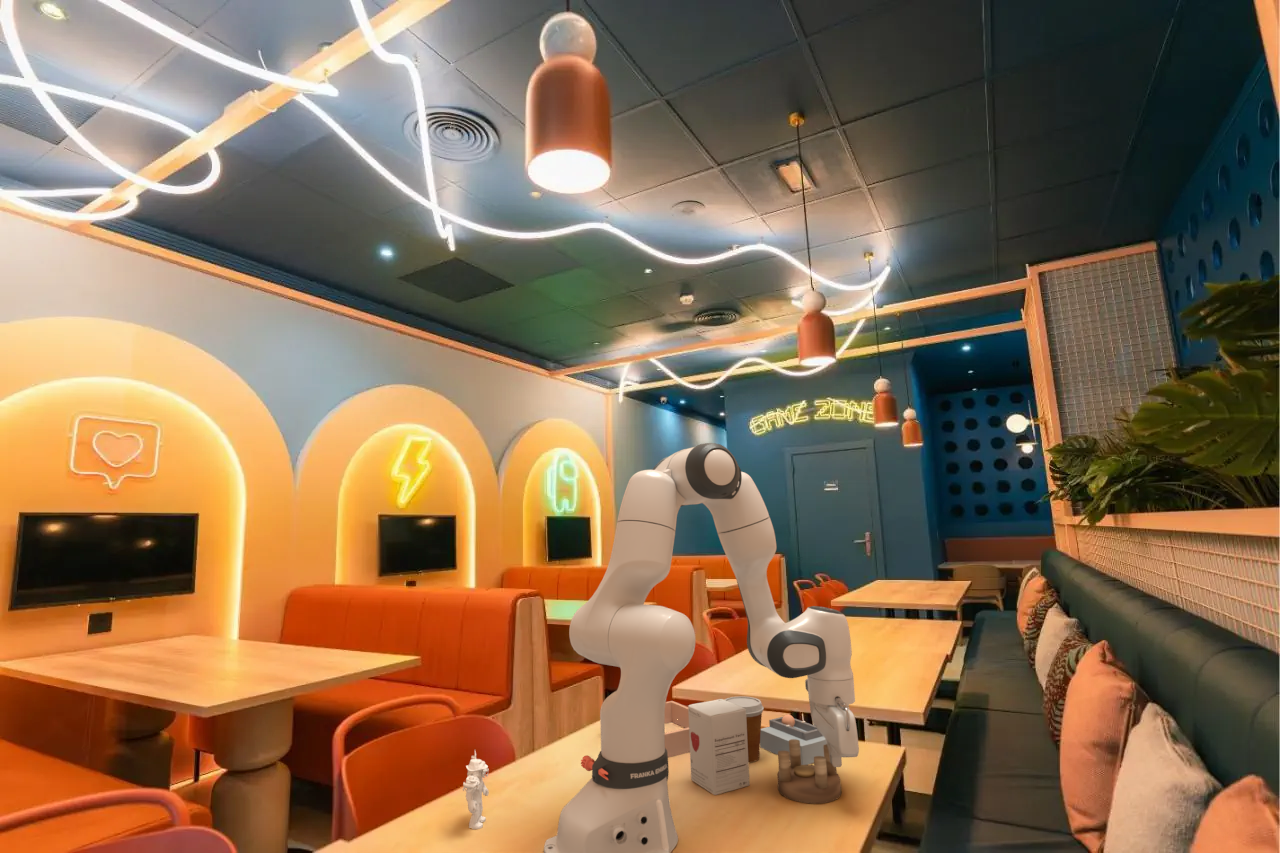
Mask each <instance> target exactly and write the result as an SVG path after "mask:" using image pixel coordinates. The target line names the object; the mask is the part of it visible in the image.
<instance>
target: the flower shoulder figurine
mask: <svg viewBox="0 0 1280 853" xmlns="http://www.w3.org/2000/svg"><path fill="white" fill-rule="evenodd" d="M465 767H466V769H467V773H466V775H467V777H466V779H465V781H463V784H462V786H463V787H462V791H463V792H466V793H465V798H466V799H465V800H466V802H467V808H468V811H469V813H471V817H470V820H469V823H468V829H469V828H472V829H471V830H480V829H482V828H483V826H484V824H483V823H484V822H486V820H487V819H486V816H482V815H483V808H484V807H483V796H484V797H488V796H489V788H487V786H486V785H485V782H484V779H485V778H486V777H487V778H488V776H489V773H488V772H489V771H490V770H489V768H488V767H489V766H488V765H487V764H486V762H485V760H482V759H480V758H477V752H476V750H474V755H471V759H470V761H469V764H468V765H465ZM486 773H487V774H486Z"/></svg>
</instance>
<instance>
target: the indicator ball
mask: <svg viewBox="0 0 1280 853" xmlns="http://www.w3.org/2000/svg"><path fill="white" fill-rule="evenodd" d="M782 717H783V718H782V723H783V724H786V725H790V726H791V727H793V726H794V724H795V720H794V717H793V716H792V715H791V714H785V715H782Z"/></svg>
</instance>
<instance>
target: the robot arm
mask: <svg viewBox="0 0 1280 853" xmlns="http://www.w3.org/2000/svg"><path fill="white" fill-rule="evenodd" d="M741 470H742V469H741V467H740V466H739V463H738V461H737V459H736V458H735V456H734V454H732V452H731V451H730V450H729V449H728V448H727V447H725V446H724V445H722V444H721V443H720V444H719V443H715V442H706V443H705V442H704V443H701V444H697V445H695V446H693V447H688V448H684V449H681V450H678V451H676V452H674V453H672V454H671V455H669V456H665V457H664V458H662V459H661V460H659V461H658V462H657V463H656V464H655V466H654V467H653V468H652V469H644V470H643V469H642V470H640V471H637V472H636V473H634V474H633V475H632V476H631V477H630V478H629V480H628V483H627V485H626V489H625V491H624V494H623V497H622V500H621V504H620V508H619V512H618V515H617V521H616V527H615V532H614V537H613V538H614V540H613V544H612V549H611V553H610V559H609V561H608V564H607V565H608V566H607V568H606V571H605V573H604V575H603V578H602V580H601V581H600V583H599V585H598V586H597V588H596V590H595V591H594V592H593V595H592V596H591V597H590V598H589V599H588V601H586V602H585V603H583V605H581V606H580V607H579V608H578V609H577V610H576V611H575V613H574V614H573V616H572V617H571V620H570V624H569V630H568V631H569V632H568V633H569V634H568V635H569V642H570V645H571V647H572V649H573V651H575V652H576V654H578V655H579V656H581V657H584V658H585V659H587V660H589V661H590V662H591V661H592V662H593V663H597V664H601V665H607V666H611V667H612V666H613V667H618V668H620V679H619V683H618V687H617V689H616V690H615V691H613V692H612V693H611V694H610V695H608V696H607V697H606V698H605V699H604V700H603V702H602V704H601V707H600V712H599V714H600V716H599V719H600V749H601V750H600V751H599V753H598V755H597V758H596V760H595V759H594V758H592V757H591V756H589V755H584V756H583V757H582V759H581V760H580V765H581V767H582V768H583V769H584V770H586V771H587V772H591V778H590V779H589V780H588V781H587V782H586V783H585V785H584V786H582V788H581V789H580V790H579V791H578V792H577V793H576V794H575V795H574V796H573V797H572V799H571V800H569V801H568V802H567V803H566V804H565V805H564V806H563V808H562V810H561V812H560V815H559V819H558V824H557V825H558V826H557V833H556V835H555V836H552V837H549V838H548V839H546V840H545V842H544V846H543V853H672V851H673V850H674V849H675V848H676V846H677V844H678V841H679V834H678V832H677V830H676V826H675V823H674V818H673V813H672V809H671V802H670V798H669V797H670V796H669V788H668V780H669V757H668V753H667V749H666V748H665V733H666V732H665V726H666V725H665V724H666V723H665V702H667V697H668V693H669V690H670V687H671V684H672V683H673V680H675V677H676V676H677V675H678V674H679V673H680V672H681V671H682V670H683V669H685V667H686V666H687V665H688V664H689V663H690V661H691V659H692V658H693V655H694V652H695V650H696V649H695V648H696V633H695V629H694V625H693V623H692V621H691V620H690V618H689V617H688V616H687V615H685V613H682V612H679V611H677V610H675V609H673V608H668V607H667V606H663V605H655V604H645V602H646V599H647V597H648V596H649V594H650V592H651V590H652V589H653V588H654V587H655V586H657V584H659V583H661V582H663V581H664V580H665V579H666V578H667V577H668V575H669V573H670V571H671V567H672V560H673V559H672V558H673V549H674V546H675V545H674V544H675V537H676V528H677V517H678V513H679V510H680V509H681V507H684V506H689V505H699V504H700V505H701V504H703V505H704V506H705V507H706V508H707V509H708V510H709V511H710V514H711V516H712V519H713V522H714V526H715V529H716V533H717V536H718V538H719V541H720V544H721V546H722V549H723V551H724V554H725V556H726V558H727V560H728V562H729V565H730V567H731V570H732V572H733V574H734V576H735V580H736V583H737V586H738V589H739V593H740V597H741V600H742V604H743V607H744V611H745V614H746V620H747V630H746V632H747V633H746V645H747V650H748V653H749V655H750V657H751V658H752V659H753V660H754V661H755V662H756V663H757V664H758V665H760V666H762V667H765V668H767V669H768V670H770V671H772V672H773V673H775V674H777V675H778V676H780V677H783V678H787V679H797V678H801V677H806V678H807V679H805V680H804V684H805V689H806V692H807V694H808V702H809V709H810V716H811V721H812V725H814V726H815V727H816V728H817V729H818V730H819V732H820V733H821V734H822V735H823V737H824V738H825V739H826V743H827V747H828V751H829V758H830V763H831V764H832V765H833V766H834V767H836V768H841V767H842V765H843V763H842V758H857V757H858V756H859V752H860V746H859V737H858V729H857V728H858V727H857V723H856V722H857V721H856V717H855V714H854V713H853V711H852V710H850V707H849V705H853V704H854V703H855V702H856V696H855V682H854V681H855V680H854V672H853V669H852V665H851V660H852V659H851V658H852V653H853V651H852V641H851V640H852V639H851V634H850V633H851V632H850V627H849V623H848V619H847V617H846V615H845V614H844V613H842V612H841V611H839V610H838V609H835V608H829V607H825V606H817V605H816V606H815V605H812V606H808V607H807V608H806V609H805V611H803V613H801V614H800V615H798V616H797V617H795V618H793V619H791V620H789V621H788V622H785V621H784V620H783V619H782V618H781V616H780V615H779V614H778V612H777V609H776V606H775V602H774V599H773V595H772V592H771V588H770V585H769V582H768V576H767V575H768V572H767V571H768V567H769V564H770V562H772V560H773V558H774V556H775V554H776V551H777V541H776V533H775V529H774V526H773V523H772V520H771V517H770V515H769V514H770V513H769V511H768V509H767V506H766V503H765V501H764V499H763V497H762V495H761V493H760V491H759V488H758V487H757V485H756V483H755V482H754V480H753V478H752V477H751V476H750V475H749V474H748V473H746V472H743V471H741Z"/></svg>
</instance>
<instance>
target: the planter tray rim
mask: <svg viewBox="0 0 1280 853" xmlns="http://www.w3.org/2000/svg"><path fill="white" fill-rule="evenodd" d="M677 719H678V720H677ZM669 723H673V724H676V725H678V726H680V727H682V728H681V729H677V730H671V731H667V732H665V748H666V749H667V753H668V758H671V757H676V756H679V755H684V754H687V753H690V738H689V714H688V706H687V705H684V704H681V703H680V702H676V701H673V700H670V701H666V702H665V724H669Z"/></svg>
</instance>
